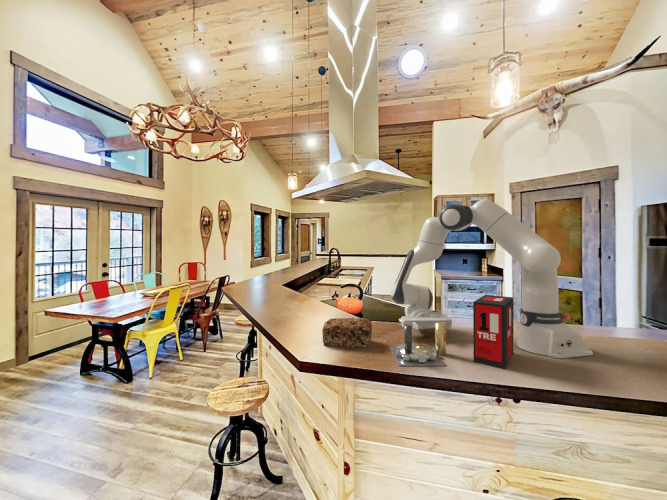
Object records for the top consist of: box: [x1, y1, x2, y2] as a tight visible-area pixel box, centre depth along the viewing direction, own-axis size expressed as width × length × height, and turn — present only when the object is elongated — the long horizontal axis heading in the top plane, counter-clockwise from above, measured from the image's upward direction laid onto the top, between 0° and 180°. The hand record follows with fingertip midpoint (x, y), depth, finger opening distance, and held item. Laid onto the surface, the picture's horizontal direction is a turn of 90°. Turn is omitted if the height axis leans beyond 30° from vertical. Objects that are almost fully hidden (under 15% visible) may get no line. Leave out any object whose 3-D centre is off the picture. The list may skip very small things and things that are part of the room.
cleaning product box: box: [472, 294, 514, 370], centre depth 96 cm, size 16×9×20 cm, turn 139°
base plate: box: [389, 346, 447, 367], centre depth 98 cm, size 15×15×1 cm
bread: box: [321, 317, 373, 349], centre depth 112 cm, size 19×11×10 cm, turn 76°
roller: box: [434, 322, 447, 357], centre depth 100 cm, size 4×4×11 cm
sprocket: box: [396, 325, 436, 362], centre depth 98 cm, size 14×14×11 cm
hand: (431, 327), depth 110 cm, fingers open, 8 cm apart
